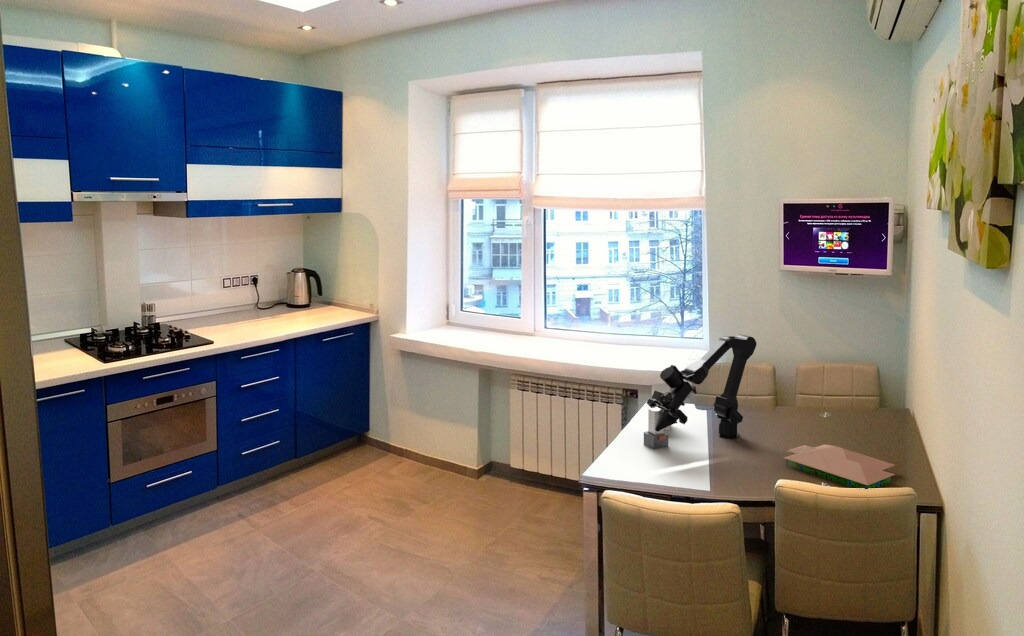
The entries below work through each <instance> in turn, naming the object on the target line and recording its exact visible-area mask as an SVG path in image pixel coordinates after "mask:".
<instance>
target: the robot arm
mask: <svg viewBox="0 0 1024 636" xmlns="http://www.w3.org/2000/svg"><path fill="white" fill-rule="evenodd" d="M718 339H719V340H718V341H717V342H716V343H715V344H714V345H713V346H712V347H711V348H710V349H709V350H708V351H707V352H706V353H705V354H703V356H702V357H701V358H700V359H699V360H697V361H694V362H692V363H691V364H689V365H688V366H686V367H685V368H684V369H683V370H680V369H678V367H677V366H676V365H673V364H671V365H670V366H669V367H666V368H665V369H663V370H662V371H661V373H660V375H659V377H660V379H661V380H662V381H663V383H666V384H667V385H668V386H669V387H670V389H672V390H670V392H665V393H664V394H663V393H661V392H658V391H655V390H654V393H653V396H652V395H651V398H649V399H648V400H647V401H646V404H647V405H648V406H649V407H650V408H657V407H658V408H660V409H663V410H664V414H663V418H662V420H661V421H660V423H659V424H658V426H657V428H656V431H657V432H658V431H660V430H662V429H664V428H666V427H668V426H670V427H671V426H672V425H674V424H678V422H679V423H680V424H683V425H685V424H686V423H687V422H688V420H689V419H688V416H687V415H686V414H685V413H684V412H683V411H682V410H681V409H680V407H684V406H685V405H686V403H685V401H686V399H687V398H688V397H689V395H690V394H694V395H697V387H696V386H695V385H702V384H703V382H704V381H705V380H706V378H708V374H709V372H710V369H711V368H712V367H713V366H714V365H716V363H717V362H718V361H719V360H720V359H721V358H722V357H723V356H724V355H725V354H726V353H727V352H728V351H729V350H730V349H731V350H732V353H733V354H732V355H733V357H732V361H731V365H730V369H729V373H728V376H727V379H726V382H725V387H724V390H723V393H722V394H721V395H716V397H715V401H714V403H713V405H712V406H713V411H714V413H715V414H716V416H717V419H720V422H719V423H718V434H719V437H720V438H726V439H736V440H737V439H738V437H739V436H740V432H739V424H740V423H742V422H743V419H744V416H743V415H742V414H741V413H740V412H739V411H738V410H739V402H738V393H739V389H740V386H741V383H742V382H741V381H742V379H743V375H744V373H745V372H744V370H745V367H746V364H747V362H748V359H750V358H751V357H752V356H753V355H754V352H755V350H756V347H757V344H758V343H757V341H756V339H755V337H753V336H749V335H745V334H737V335H736V336H728V335H727V336H726V335H723V336H721V337H720V338H718ZM691 384H694V385H691ZM655 399H656V400H655ZM658 401H659V402H660V403H661V404H662V405H661V404H660V403H659V402H658Z"/></svg>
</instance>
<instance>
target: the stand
mask: <svg viewBox="0 0 1024 636" xmlns="http://www.w3.org/2000/svg"><path fill="white" fill-rule="evenodd" d="M669 439H670V438H669V433H666V432H665V431H664V434H663V435H658V436H653V435H651V434H649V433H648V430H647V431H644V432H643V445H644V446H645V447H648V448H649V449H651V450H659V449H665V448H669V447H670V446H669Z"/></svg>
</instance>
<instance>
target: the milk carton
mask: <svg viewBox="0 0 1024 636" xmlns="http://www.w3.org/2000/svg"><path fill="white" fill-rule="evenodd" d="M654 390H655V391H658V392H661V393H663V394H664V393H665V392H670V393H671V388H670V387H669V386H668V385H667V384H666V383H665V382H651V397H652V396H653V393H654ZM655 400H656V399H655ZM658 402H659V401H658ZM659 403H660V402H659ZM660 404H661V403H660ZM661 405H662V404H661ZM665 430H666V431H670V430H671V425H670V426H668V427H666V428H664V431H665Z"/></svg>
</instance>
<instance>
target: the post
mask: <svg viewBox="0 0 1024 636" xmlns="http://www.w3.org/2000/svg"><path fill="white" fill-rule="evenodd" d="M663 414H664V410H663V409H660V408H658V407H657V408H651V407H650V408H648V419H647V420H648V423H647V424H648V426H647V427H648V428H647V431H648V433H649V434H651V435H653V436H658V435H663V434H664V432H665V430H664V429H662V430H660V431H658V432H657V431H656V428H657V426H658V424H659V423H660V421H661V420H662V418H663Z"/></svg>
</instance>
